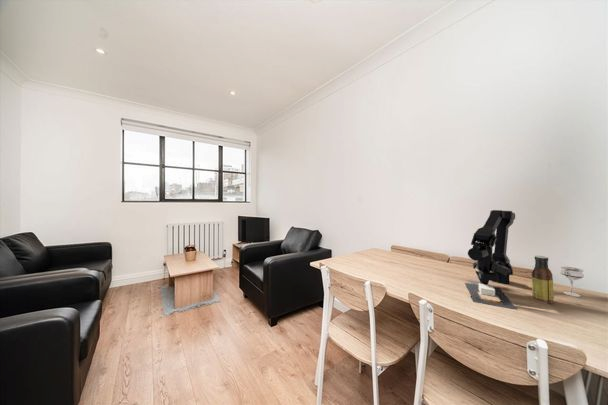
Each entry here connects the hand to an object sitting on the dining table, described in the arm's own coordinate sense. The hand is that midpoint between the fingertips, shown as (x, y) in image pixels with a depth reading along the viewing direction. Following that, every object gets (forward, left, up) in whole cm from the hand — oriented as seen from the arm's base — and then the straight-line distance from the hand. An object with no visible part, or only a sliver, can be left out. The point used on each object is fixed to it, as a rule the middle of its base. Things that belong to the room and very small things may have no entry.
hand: (484, 288), depth 102 cm
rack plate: (0, +4, -2) cm, 4 cm away
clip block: (0, +4, -1) cm, 4 cm away
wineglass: (-35, -15, -2) cm, 38 cm away
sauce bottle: (-20, 0, -2) cm, 20 cm away
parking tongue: (0, -9, -2) cm, 9 cm away
